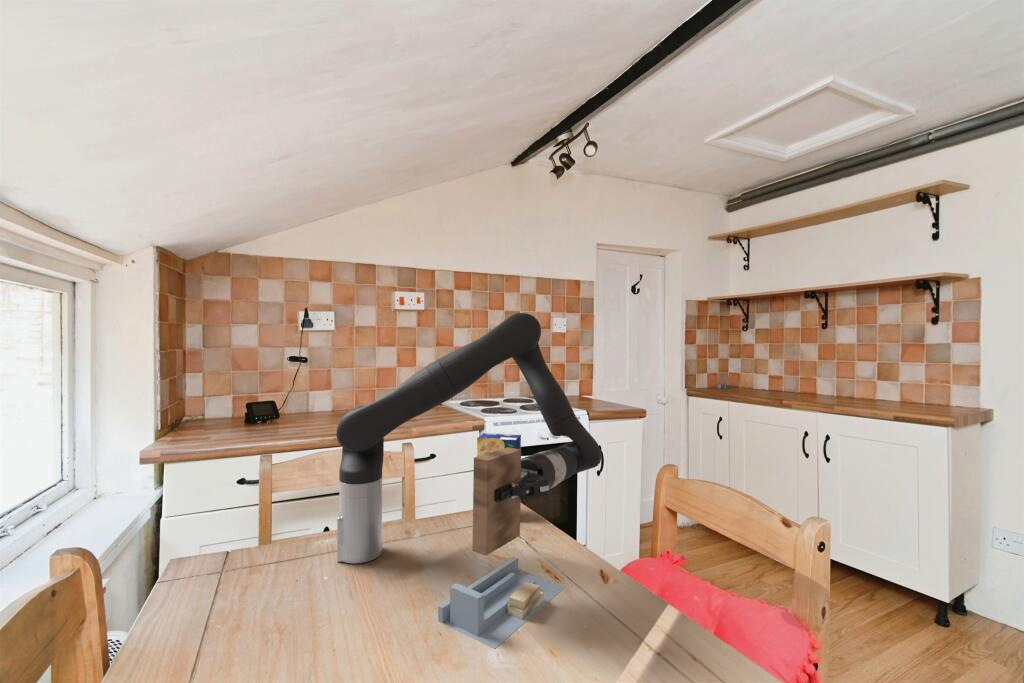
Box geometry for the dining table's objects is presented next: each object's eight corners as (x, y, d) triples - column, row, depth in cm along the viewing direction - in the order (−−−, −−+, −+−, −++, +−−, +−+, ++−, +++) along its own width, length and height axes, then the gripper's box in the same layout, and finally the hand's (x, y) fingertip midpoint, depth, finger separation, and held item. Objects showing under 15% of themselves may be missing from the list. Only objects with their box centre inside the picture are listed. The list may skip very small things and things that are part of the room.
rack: (494, 658, 71) (495, 609, 71) (438, 629, 78) (438, 585, 78) (565, 594, 89) (565, 555, 89) (514, 576, 96) (514, 539, 96)
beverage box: (516, 522, 124) (516, 439, 124) (476, 519, 127) (476, 438, 126) (520, 513, 131) (521, 434, 131) (482, 510, 133) (483, 433, 133)
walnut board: (486, 555, 78) (487, 460, 78) (472, 550, 80) (473, 457, 80) (519, 535, 87) (521, 449, 86) (506, 531, 88) (508, 447, 88)
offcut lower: (521, 619, 79) (521, 610, 79) (507, 613, 80) (507, 604, 80) (543, 600, 84) (543, 592, 84) (529, 595, 86) (529, 587, 86)
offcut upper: (523, 610, 79) (523, 602, 79) (509, 606, 80) (509, 597, 80) (539, 594, 84) (539, 585, 84) (526, 589, 85) (526, 581, 85)
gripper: (512, 448, 99) (457, 465, 85) (571, 459, 91) (521, 480, 77) (512, 483, 99) (457, 506, 85) (570, 497, 91) (520, 525, 77)
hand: (487, 494), depth 81 cm, fingers closed on walnut board, 3 cm apart
